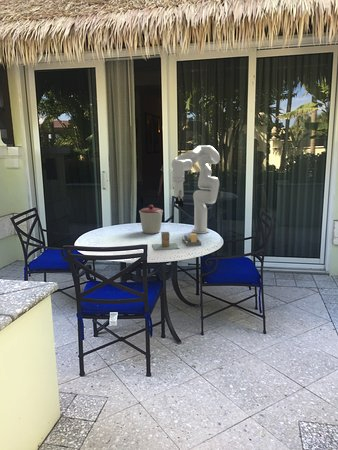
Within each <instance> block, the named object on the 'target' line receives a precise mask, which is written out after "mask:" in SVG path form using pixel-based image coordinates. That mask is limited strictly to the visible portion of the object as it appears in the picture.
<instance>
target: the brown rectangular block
mask: <svg viewBox="0 0 338 450" xmlns="http://www.w3.org/2000/svg"><path fill="white" fill-rule="evenodd" d="M160 233H161V244H162V247H169V243H170V232H169V231H161V232H160Z"/></svg>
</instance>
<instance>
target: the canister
mask: <svg viewBox="0 0 338 450" xmlns="http://www.w3.org/2000/svg"><path fill="white" fill-rule="evenodd" d="M138 212H139V216H140V224H141V229H142V232H143V233H144V234H148V235H149V234H151V235H152V234H158V233H160V231H161V228H162V218H163V213H164V210H163V209H161V208H159V207H154V205H153V204H149V205H148V207H143V208H141V209H140V210H139V211H138Z"/></svg>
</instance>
